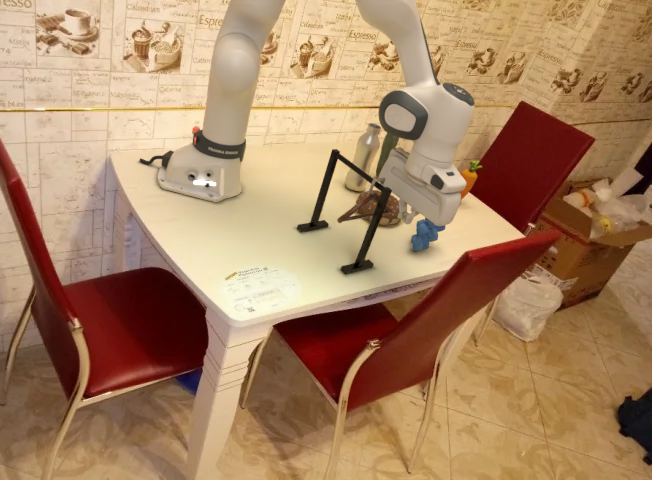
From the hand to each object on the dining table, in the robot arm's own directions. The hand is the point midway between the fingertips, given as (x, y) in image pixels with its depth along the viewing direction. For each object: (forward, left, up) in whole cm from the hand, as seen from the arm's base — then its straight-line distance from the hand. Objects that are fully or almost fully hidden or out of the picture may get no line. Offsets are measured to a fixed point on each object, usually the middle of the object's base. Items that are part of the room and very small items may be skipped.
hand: (403, 220), depth 117 cm
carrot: (+36, +43, -14) cm, 58 cm away
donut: (+5, +27, -14) cm, 31 cm away
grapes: (+13, +13, -14) cm, 24 cm away
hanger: (-8, +2, -2) cm, 9 cm away
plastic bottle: (+1, +41, -14) cm, 44 cm away
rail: (-11, +7, -14) cm, 20 cm away
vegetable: (+11, +51, -14) cm, 54 cm away
